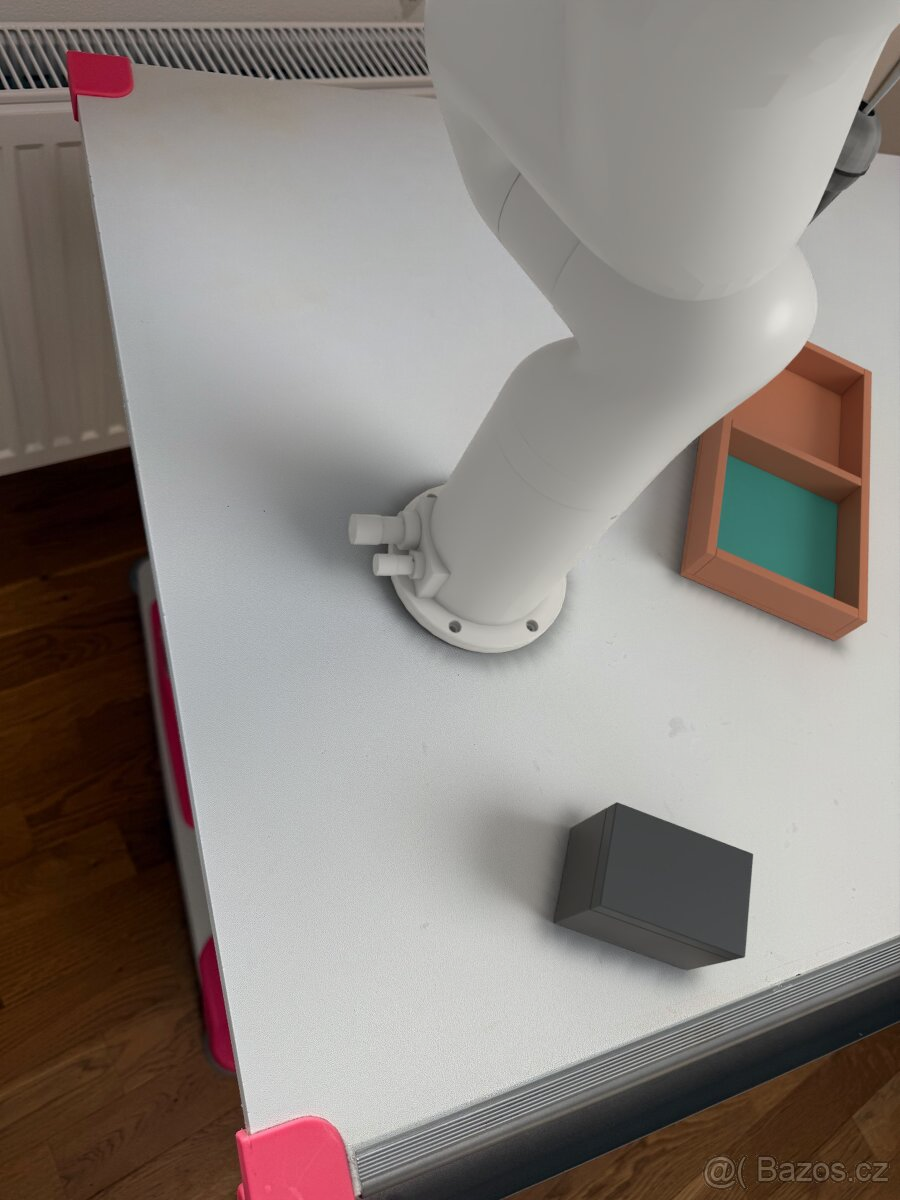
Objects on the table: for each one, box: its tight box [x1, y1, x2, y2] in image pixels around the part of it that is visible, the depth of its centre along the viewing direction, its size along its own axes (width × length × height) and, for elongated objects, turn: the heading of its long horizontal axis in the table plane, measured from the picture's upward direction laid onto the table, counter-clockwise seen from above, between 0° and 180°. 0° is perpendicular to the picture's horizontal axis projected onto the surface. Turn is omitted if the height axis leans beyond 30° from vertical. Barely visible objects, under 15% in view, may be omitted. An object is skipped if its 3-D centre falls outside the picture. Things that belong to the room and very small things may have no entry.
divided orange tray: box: [679, 340, 873, 642], centre depth 78 cm, size 14×26×4 cm, turn 166°
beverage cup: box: [808, 68, 900, 226], centre depth 85 cm, size 7×7×20 cm
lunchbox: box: [553, 802, 754, 971], centre depth 57 cm, size 9×6×6 cm, turn 76°
